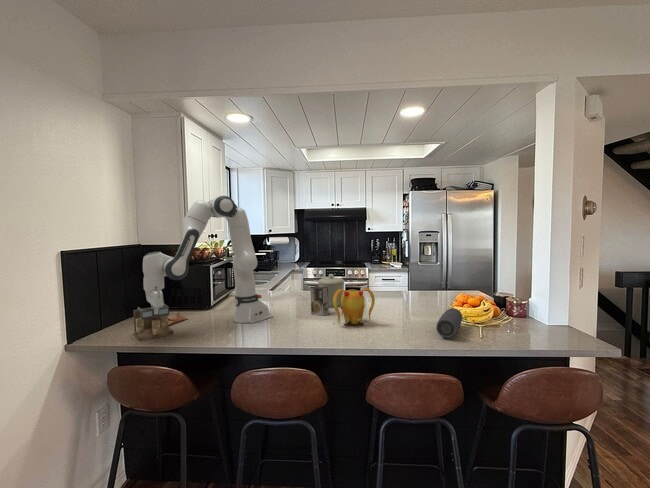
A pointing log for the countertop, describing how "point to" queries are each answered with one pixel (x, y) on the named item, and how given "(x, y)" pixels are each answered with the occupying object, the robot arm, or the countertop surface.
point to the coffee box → (319, 300)
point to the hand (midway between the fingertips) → (155, 313)
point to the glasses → (150, 313)
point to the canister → (332, 288)
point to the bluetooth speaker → (449, 323)
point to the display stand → (151, 326)
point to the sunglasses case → (175, 319)
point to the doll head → (352, 306)
